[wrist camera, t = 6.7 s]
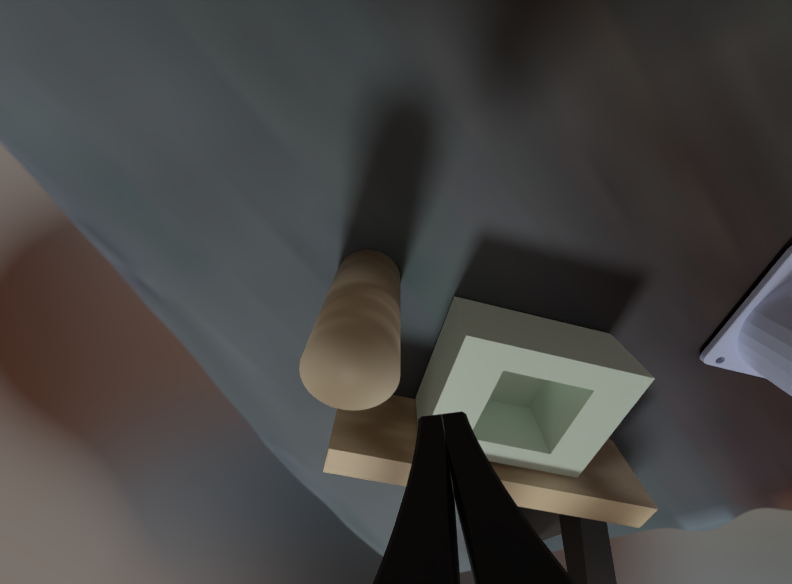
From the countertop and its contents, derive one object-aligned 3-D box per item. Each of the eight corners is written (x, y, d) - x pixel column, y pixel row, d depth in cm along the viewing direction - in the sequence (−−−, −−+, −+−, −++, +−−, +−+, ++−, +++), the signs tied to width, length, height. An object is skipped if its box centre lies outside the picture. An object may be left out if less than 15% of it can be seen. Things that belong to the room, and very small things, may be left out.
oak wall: (611, 439, 25) (658, 509, 20) (597, 457, 26) (639, 527, 21) (343, 384, 23) (328, 448, 18) (337, 405, 24) (323, 471, 19)
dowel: (407, 258, 19) (412, 344, 11) (391, 313, 20) (386, 418, 13) (343, 242, 18) (306, 320, 11) (332, 298, 20) (293, 399, 13)
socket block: (610, 333, 20) (655, 378, 17) (551, 424, 24) (577, 477, 20) (454, 296, 19) (466, 335, 16) (415, 397, 23) (418, 447, 19)
